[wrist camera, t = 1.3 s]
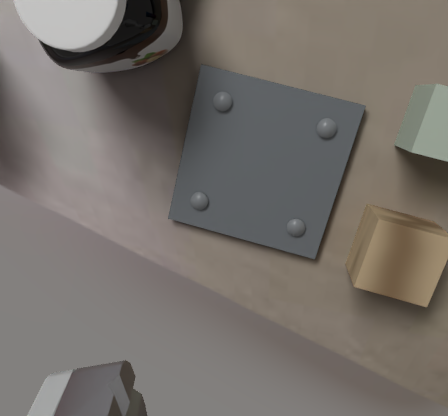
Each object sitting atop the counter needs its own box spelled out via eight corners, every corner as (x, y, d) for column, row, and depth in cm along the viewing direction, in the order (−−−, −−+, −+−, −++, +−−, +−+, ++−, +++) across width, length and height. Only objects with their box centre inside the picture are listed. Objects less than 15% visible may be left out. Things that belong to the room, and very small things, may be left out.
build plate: (363, 105, 35) (366, 105, 34) (313, 255, 39) (315, 260, 38) (203, 65, 36) (200, 64, 35) (170, 215, 40) (167, 219, 39)
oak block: (433, 221, 37) (456, 239, 32) (409, 281, 39) (426, 307, 34) (366, 203, 37) (378, 219, 33) (345, 263, 39) (354, 286, 34)
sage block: (476, 100, 34) (507, 101, 29) (452, 159, 35) (478, 169, 31) (415, 85, 34) (436, 83, 30) (393, 144, 36) (411, 152, 31)
